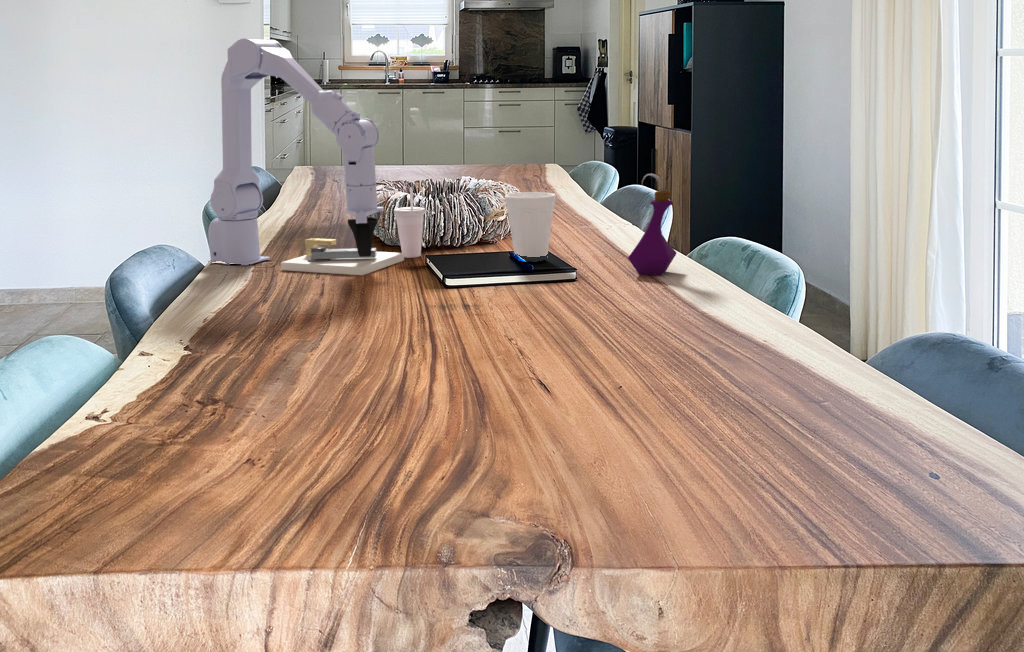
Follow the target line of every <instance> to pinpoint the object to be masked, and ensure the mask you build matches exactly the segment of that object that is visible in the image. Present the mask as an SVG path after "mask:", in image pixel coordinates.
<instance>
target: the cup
mask: <svg viewBox="0 0 1024 652" xmlns="http://www.w3.org/2000/svg"><path fill="white" fill-rule="evenodd" d="M504 199H505V200H504V201H505V202H504V203H505V206H506V210H507V216H508V223H509V229H510V233H511V234H510V235H511V241H512V246H513V253H515V254H518V255H520V256H527V257H540V256H546V255H547V254H549V246H550V238H551V230H552V222H553V214H554V208H555V206H556V199H557V194H555V193H553V192H544V191H523V192H520V191H519V192H512V193H507V194H505V195H504ZM515 254H514V255H515Z"/></svg>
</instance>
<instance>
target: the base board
mask: <svg viewBox="0 0 1024 652" xmlns="http://www.w3.org/2000/svg"><path fill="white" fill-rule="evenodd" d="M403 261H405V257H404V253H402V252H395V251H393V252H391V251H389V252H388V251H377V255H376V257H375V258H344V259H312V258H311V256H306V254H304V255H302V256H298V257H295V258H291V259H288V260H284V261H281V262H280V266H281V267H280V269H281V271H288V272H289V271H291V272H292V271H293V272H306V273H307V272H308V273H320V274H321V273H324V274H337V275H338V274H339V275H354V276H365V275H367V274H371V273H373V272H375V271H378V270H381V269H385V268H387V267H389V266H392V265H395V264H399V263H400V262H403Z"/></svg>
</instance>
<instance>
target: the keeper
mask: <svg viewBox="0 0 1024 652" xmlns="http://www.w3.org/2000/svg"><path fill="white" fill-rule="evenodd" d="M304 244H305V255H306V256H311V248H313V247H320V246H335V245H337V244H338V243H337V239H336V238H335V239H333V238H319V237H318V238H317V237H316V238H315V237H310V238H305V239H304Z"/></svg>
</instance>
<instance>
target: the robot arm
mask: <svg viewBox="0 0 1024 652" xmlns="http://www.w3.org/2000/svg"><path fill="white" fill-rule="evenodd" d="M269 76H270V77H271V76H272V77H277V78H280V79H281V80H282V81H284V82H285V83H286V84H287V85H288V86H290V87H291V88H292V89H293V90H294V91H296V92H297V93H298V94H299V95H301V97H303V98H304V100H306V101H307V102H308V103H310V106H311V114H312V115H314V116H315V117H316V119H318V120H319V121H320V122H321V124H323V125H324V126H325V127H326V128H327V129H328V130H330V132H331V133H333V135H335V139H336V143H337V145H338V146H339V148H340V149H341V151H342V158H343V163H344V164H343V166H344V181H345V183H344V185H345V197H346V208H345V214H348V215H350V216H353V217H355V218H353V219H352V218H350V219H347V224H348V227H349V228H350V230H351V232H352V234H353V237H354V239H355V240H354V241H355V245H356V246H355V247H356V248H357V250H358V254H359V256H360V257H362V256H370V255H371V249H372V248H373V237H374V232H375V229H376V227H377V225H378V224H377V223H378V221H379V219H378V217H376V216H371V215H374V214H376V213H379V212H384V209H385V208H384V206H378V196H377V194H378V193H377V178H376V177H377V176H376V174H377V173H376V161H375V160H376V159H375V147H376V145H377V144H378V141H379V137H380V136H379V135H380V134H379V133H380V132H379V129H378V127H377V125H376V124H375V123H374V121H373V120H372V119H369V118H366V117H365V118H363V117H361V113H360V112H359V111H358V110H354V109H353V108H352V107H351V106H350V105H348V104H347V103H346V102H345V101H344V100H343V98H344V96H343V94H341V93H340V92H335V91H334V90H324V89H323V88H322V87H321V86H320V85H319V84H318V83H317V82H316V81H315V80H314V78H313V77H311V76H310V75H309V73H308V72H307V71H306V70H305V69H304V68H303V67H302V66H301V64H299V63H298V62H297V61H296V60H295V58H294V57H293V56H292V54H291V51H289V49H286V48H285V47H283V45H282V44H281V43H280V42H279V41H277V40H275V39H270V38H269V39H250V38H240V39H238V40H236V41H235V42H234V43H233V44H232V45H230V47H228V48H227V61H226V63H225V66H224V69H223V71H222V74H221V80H220V81H221V84H220V85H221V129H222V132H221V133H222V136H221V137H222V141H221V142H222V170H221V171H220V172H218V173H219V174H217V176H216V177H215V178H214V181H213V190H212V192H211V195H210V199H209V203H210V207H211V209H212V211H213V213H214V214H215V216H217V217H216V218H214V219H212V220H211V222H210V223H209V226H208V232H207V234H208V245H209V255H210V256H209V257H210V259H209V260H208V261H207V262H208V264H213V263H212V262H216V261H222V262H225V263H234V264H241V265H240V266H250V265H253V264H256V263H260V262H265V261H266V260H270V256H263V255H261V251H260V250H261V248H260V238H259V237H260V236H259V224H258V216H259V210H260V209H261V208H262V206H263V203H264V197H263V193H262V190H261V187H260V183H259V182H260V179H259V178H260V177H258V175H257V174H256V173H255V172H254V171H253V169H252V168H253V166H252V158H253V156H252V88H253V87H254V86H256V85H257V84H258V83H260V81H261V80H262V79H264V78H266V77H269ZM210 261H211V262H210ZM209 262H210V263H209ZM249 264H250V265H249Z"/></svg>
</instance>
